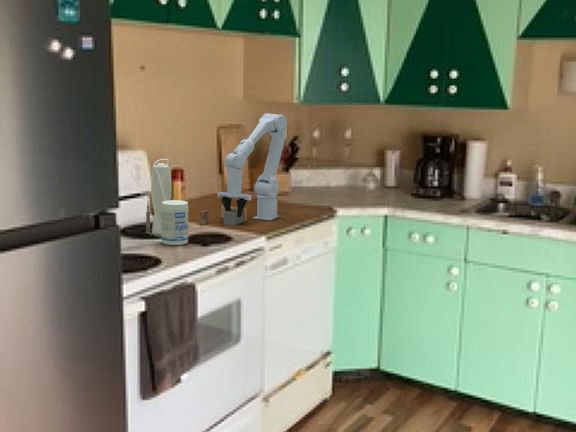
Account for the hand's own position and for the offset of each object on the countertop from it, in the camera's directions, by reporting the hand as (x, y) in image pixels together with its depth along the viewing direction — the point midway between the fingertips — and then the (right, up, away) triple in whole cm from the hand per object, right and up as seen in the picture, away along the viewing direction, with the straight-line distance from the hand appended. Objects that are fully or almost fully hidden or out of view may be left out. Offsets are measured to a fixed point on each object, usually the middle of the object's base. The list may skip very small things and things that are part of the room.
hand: (234, 216), depth 270 cm
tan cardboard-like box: (-9, -2, +4) cm, 9 cm away
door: (-1, -1, +7) cm, 7 cm away
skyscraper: (-26, -7, -21) cm, 34 cm away
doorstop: (0, -3, 0) cm, 3 cm away
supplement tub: (-18, -10, -34) cm, 40 cm away
